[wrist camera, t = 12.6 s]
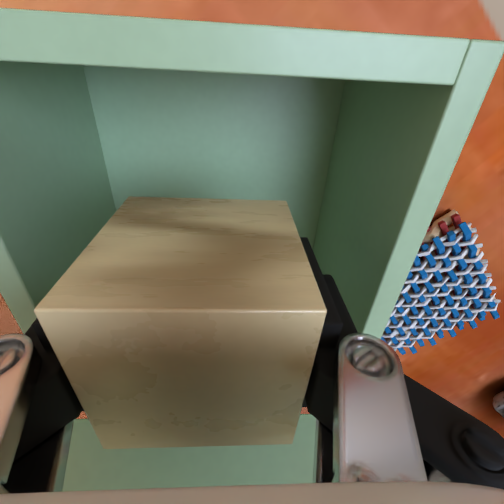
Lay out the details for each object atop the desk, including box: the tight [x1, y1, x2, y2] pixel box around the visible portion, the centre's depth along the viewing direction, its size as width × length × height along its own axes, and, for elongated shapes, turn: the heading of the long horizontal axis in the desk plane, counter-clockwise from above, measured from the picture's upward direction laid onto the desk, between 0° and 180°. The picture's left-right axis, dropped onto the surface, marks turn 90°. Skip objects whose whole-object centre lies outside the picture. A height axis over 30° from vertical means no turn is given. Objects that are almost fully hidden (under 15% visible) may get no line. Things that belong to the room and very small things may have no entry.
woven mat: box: [381, 210, 500, 355], centre depth 21 cm, size 10×11×2 cm
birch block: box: [34, 196, 327, 449], centre depth 8 cm, size 5×5×5 cm
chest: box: [0, 8, 504, 339], centre depth 14 cm, size 15×14×9 cm
